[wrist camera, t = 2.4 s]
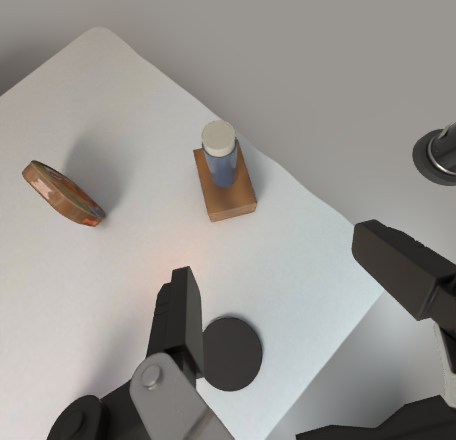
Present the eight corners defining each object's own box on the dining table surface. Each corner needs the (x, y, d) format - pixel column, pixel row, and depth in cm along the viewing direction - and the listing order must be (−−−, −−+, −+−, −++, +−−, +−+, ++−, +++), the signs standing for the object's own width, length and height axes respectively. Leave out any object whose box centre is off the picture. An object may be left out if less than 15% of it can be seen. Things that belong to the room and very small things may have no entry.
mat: (251, 310, 34) (252, 311, 34) (269, 379, 32) (270, 381, 31) (191, 326, 34) (191, 327, 33) (205, 397, 31) (204, 399, 31)
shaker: (233, 160, 35) (231, 115, 25) (240, 183, 34) (241, 146, 24) (207, 166, 35) (196, 123, 25) (213, 190, 34) (204, 155, 24)
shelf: (237, 154, 41) (237, 139, 36) (254, 211, 38) (257, 202, 33) (198, 164, 41) (192, 150, 36) (211, 222, 38) (208, 215, 33)
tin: (114, 221, 39) (82, 207, 31) (102, 234, 38) (65, 223, 30) (65, 173, 42) (23, 149, 34) (52, 185, 41) (7, 163, 33)
